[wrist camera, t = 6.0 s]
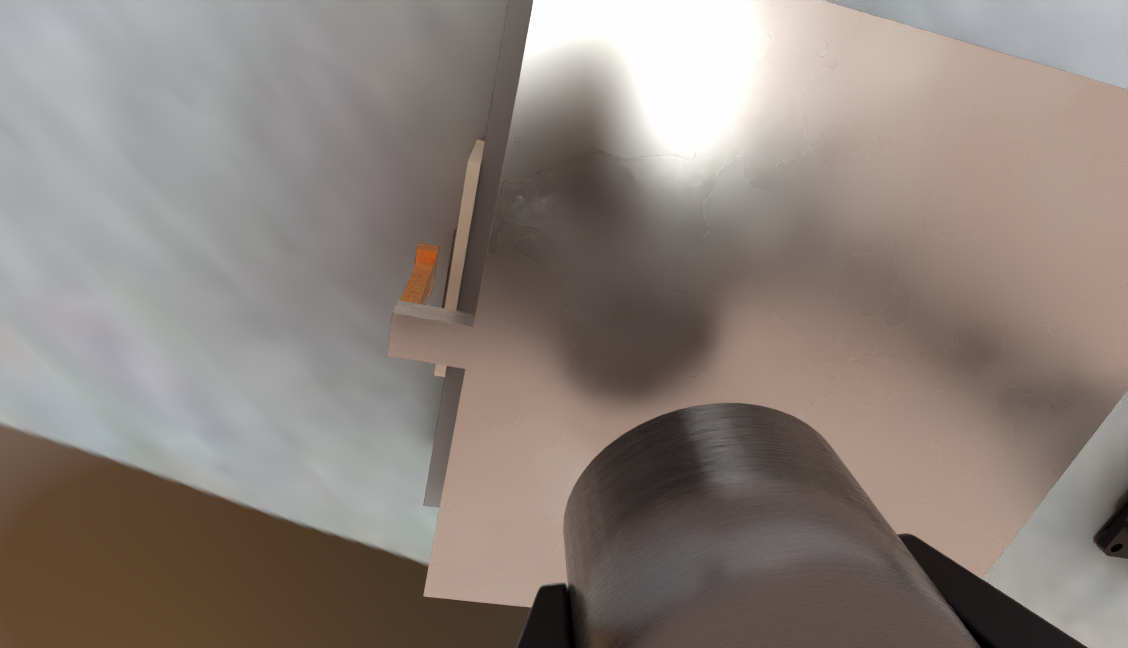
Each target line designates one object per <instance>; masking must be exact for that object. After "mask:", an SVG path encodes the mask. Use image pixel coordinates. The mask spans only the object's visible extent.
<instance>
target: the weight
mask: <svg viewBox="0 0 1128 648" xmlns="http://www.w3.org/2000/svg"><path fill="white" fill-rule="evenodd" d="M563 536H564V548H565V559H566V571H567V583H568V595H569V607H570V618H571V630H572V642H573V648H981V647H980V645H979V644H978V643H977V641H976V640H975V639H974V637H973V636H972V635H971V633H970V632H969V630H968V629H967V628H966V626H965V625H964V624H963V622H962V621H961V620H960V618H959V617H958V616H957V614H956V613H955V612H954V610H953V609H952V608H951V606H950V605H949V604H948V602H947V601H946V600H945V598H944V597H943V596H942V594H941V593H940V592H939V590H938V589H937V588H936V586H935V585H934V584H933V582H932V581H931V579H930V578H929V577H928V575H927V574H926V573H925V571H924V570H923V569H922V567H921V566H920V565H919V563H918V562H917V561H916V559H915V558H914V557H913V555H912V554H911V553H910V551H909V550H908V549H907V547H906V546H905V545H904V543H903V542H902V541H901V539H900V538H899V537H898V535H897V534H896V533H895V531H894V530H893V528H892V527H891V526H890V524H889V523H888V522H887V520H886V519H885V518H884V516H883V515H882V514H881V512H880V511H879V510H878V508H877V507H876V506H875V504H874V503H873V502H872V500H871V499H870V498H869V496H868V495H867V494H866V492H865V491H864V490H863V488H862V487H861V486H860V484H859V483H858V482H857V480H856V479H855V477H854V476H853V475H852V473H851V472H850V471H849V469H848V468H847V467H846V465H845V464H844V463H843V461H842V460H841V459H840V457H839V456H838V455H837V453H836V452H835V451H834V449H833V448H832V447H831V445H830V444H829V443H828V442H827V441H826V440H825V439H824V437H823V436H822V435H821V434H820V433H818V432H817V431H816V430H815V429H813V428H812V427H811V426H810V425H808V424H807V423H805V422H803V421H801V420H800V419H798V418H796V417H794V416H792V415H789V414H787V413H784V412H782V411H779V410H776V409H772V408H768V407H764V406H760V405H752V404H744V403H714V404H705V405H697V406H692V407H688V408H683V409H679V410H675V411H672V412H669V413H666V414H663V415H660V416H657V417H655V418H653V419H651V420H649V421H646V422H644V423H642V424H640V425H638V426H636V427H635V428H633V429H631V430H629V431H628V432H626V433H624V434H623V435H621V436H620V437H618V438H617V439H616V440H614V441H613V442H612V443H610V444H609V445H608V446H606V447H605V448H604V449H603V450H602V451H601V452H600V453H599V454H598V455H597V456H596V457H595V458H594V459H593V460H592V461H591V462H590V464H589V465H588V466H587V467H586V469H585V470H584V471H583V472H582V474H581V475H580V477H579V479H578V480H577V482H576V484H575V485H574V487H573V489H572V492H571V494H570V496H569V499H568V501H567V505H566V509H565V513H564V522H563Z"/></svg>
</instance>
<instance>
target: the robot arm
mask: <svg viewBox="0 0 1128 648" xmlns="http://www.w3.org/2000/svg"><path fill="white" fill-rule="evenodd" d="M897 535H898V537H899V538H900V539H901V541H902V542H903V543H904V545H905V546H906V547H907V549H908V550H909V551H910V553H911V554H912V555H913V557H914V558H915V559H916V561H917V562H918V563H919V565H920V566H921V567H922V569H923V570H924V571H925V573H926V574H927V575H928V577H929V578H930V579H931V581H932V582H933V584H934V585H935V586H936V588H937V589H938V590H939V592H940V593H941V594H942V596H943V597H944V598H945V600H946V601H947V602H948V604H949V605H950V606H951V608H952V609H953V610H954V612H955V613H956V614H957V616H958V617H959V618H960V620H961V621H962V622H963V624H964V625H965V626H966V628H967V629H968V630H969V632H970V633H971V635H972V636H973V637H974V639H975V640H976V641H977V643H978V644H979V645H980V647H981V648H1087V647H1086V646H1084V645H1083V644H1081V643H1080V642H1078V641H1077V640H1075V639H1074V638H1072V637H1070V636H1069V635H1067V634H1066V633H1064V632H1063V631H1061V630H1060V629H1058V628H1057V627H1055V626H1053V625H1052V624H1050V623H1049V622H1047V621H1046V620H1044V619H1043V618H1041V617H1040V616H1038V615H1037V614H1035V613H1033V612H1032V611H1030V610H1029V609H1027V608H1026V607H1024V606H1023V605H1021V604H1020V603H1018V602H1016V601H1015V600H1013V599H1012V598H1010V597H1009V596H1007V595H1006V594H1004V593H1003V592H1001V591H1000V590H998V589H996V588H995V587H993V586H992V585H990V584H989V583H987V582H986V581H984V580H983V579H981V578H979V577H978V576H976V575H975V574H973V573H972V572H970V571H969V570H967V569H966V568H964V567H963V566H961V565H959V564H958V563H956V562H955V561H953V560H952V559H950V558H949V557H947V556H946V555H944V554H942V553H941V552H939V551H938V550H936V549H935V548H933V547H932V546H930V545H929V544H927V543H926V542H924V541H922V540H921V539H919V538H918V537H916V536H914V535H912V534H908V533H903V534H897ZM1097 547H1098V548H1099V549H1100V550H1101V551H1103V552H1104V553H1105V554H1106V555H1108V556H1113V557H1120V558H1127V559H1128V506H1127V507H1126V508H1125V509H1124V511H1123V512H1122V513H1121V514H1120V515H1119V516H1118V518H1117V519H1116V520H1115V521H1114V522H1113V523H1112V525H1111V526H1110V527H1109V528H1108V529H1107V530H1106V532H1105V533H1104V534H1103V535H1102V536H1101V537H1100V539H1099V540H1098V542H1097ZM516 648H573V642H572V630H571V618H570V607H569V595H568V588H567V585H566V584H565V583H563V582H559V583H552V584H545V585H542V586H541V587H540V588H539V590H538V591H537V594H536V597H535V599H534V602H533V605H532V607H531V610H530V612H529V615H528V618H527V621H526V623H525V626H524V628H523V631H522V634H521V636H520V639H519V641H518V644H517V647H516Z"/></svg>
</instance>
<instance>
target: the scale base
mask: <svg viewBox="0 0 1128 648" xmlns="http://www.w3.org/2000/svg"><path fill="white" fill-rule="evenodd" d="M533 1H534V0H508V6H507V12H506V18H505V24H504V30H503V36H502V42H501V48H500V54H499V60H498V66H497V71H496V77H495V83H494V89H493V95H492V101H491V107H490V113H489V119H488V125H487V131H486V137H485V141H482V140H478V139H477V141H476V143H475V145H474V148H473V150H472V152H471V155H470V157H469V159H468V164H467V170H466V176H465V183H464V189H463V195H462V201H461V208H460V214H459V218H458V224H457V229H455V230H454V235H453V242H452V248H451V254H450V261H449V267H448V273H447V280H446V286H445V293H444V299H443V305H442V308H444V309H450V310H455V311H461V312H466V313H472V314H476V309H477V303H478V298H479V293H480V287H481V282H482V276H483V271H484V266H485V260H486V255H487V250H488V244H489V239H490V233H491V228H492V223H493V217H494V212H495V206H496V201H497V196H498V190H499V185H500V179H501V174H502V169H503V163H504V158H505V152H506V147H507V142H508V136H509V131H510V125H511V120H512V115H513V109H514V104H515V98H516V93H517V88H518V82H519V77H520V71H521V66H522V61H523V55H524V50H525V44H526V39H527V34H528V28H529V23H530V17H531V12H532V7H533ZM464 374H465V369H463V368H457V367H451V366H445V365H439V364H436V365H435V371H434V376H440V377H445V380H444V386H443V391H442V397H441V403H440V409H439V415H438V421H437V427H436V433H435V439H434V445H433V451H432V457H431V463H430V468H429V474H428V480H427V486H426V492H425V498H424V504H423V506H431V507H439V508H440V503H441V498H442V492H443V487H444V482H445V476H446V471H447V465H448V460H449V455H450V449H451V444H452V438H453V433H454V428H455V422H456V417H457V411H458V406H459V401H460V395H461V390H462V384H463V379H464Z"/></svg>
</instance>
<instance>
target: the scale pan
mask: <svg viewBox="0 0 1128 648" xmlns="http://www.w3.org/2000/svg"><path fill="white" fill-rule="evenodd" d="M438 251H439V247H438V246H433V245H428V244H423V243H419V245H418V247H417V251H416V259H415V267H414V270H413V273H412V275H411V277H410V279H409V281H408V283H407V286H406V288H405V290H404V292H403V294H402V296H401V299H400V300H398V302H397V304H396V306H395V308H394V311H393V313H392V321H391V330H390V338H389V347H388V355H387V356H390V357H396V358H402V359H409V360H415V361H421V362H427V363H433V364H439V365H445V366H451V367H457V368H463V369H465V374H464V379H463V384H462V390H461V395H460V401H459V406H458V411H457V417H456V422H455V428H454V433H453V438H452V444H451V449H450V455H449V460H448V465H447V471H446V476H445V482H444V487H443V492H442V498H441V503H440V509H439V514H438V519H437V525H436V530H435V536H434V541H433V546H432V552H431V557H430V563H429V568H428V573H427V579H426V585H425V591H424V596H426V597H435V598H445V599H456V600H465V601H475V602H484V603H494V604H505V605H514V606H524V607H532V605H533V602H534V599H535V597H536V594H537V591H538V590H539V588H540V587H541V586H542V585H545V584H552V583H559V582H563V583H565V584H566V585H567V588H568V583H567V571H566V559H565V548H564V536H563V522H564V513H565V509H566V505H567V501H568V499H569V496H570V494H571V492H572V489H573V487H574V485H575V484H576V482H577V480H578V479H579V477H580V475H581V474H582V472H583V471H584V470H585V469H586V467H587V466H588V465H589V464H590V462H591V461H592V460H593V459H594V458H595V457H596V456H597V455H598V454H599V453H600V452H601V451H602V450H603V449H604V448H605V447H606V446H608V445H609V444H610V443H612V442H613V441H614V440H616V439H617V438H618V437H620V436H621V435H623V434H624V433H626V432H628V431H629V430H631V429H633V428H635V427H636V426H638V425H640V424H642V423H644V422H646V421H649V420H651V419H653V418H655V417H657V416H660V415H663V414H666V413H669V412H672V411H675V410H679V409H683V408H688V407H692V406H697V405H705V404H714V403H744V404H752V405H760V406H764V407H768V408H772V409H776V410H779V411H782V412H784V413H787V414H789V415H792V416H794V417H796V418H798V419H800V420H801V421H803V422H805V423H807V424H808V425H810V426H811V427H812V428H813V429H815V430H816V431H817V432H818V433H820V434H821V435H822V436H823V437H824V439H825V440H826V441H827V442H828V443H829V444H830V445H831V447H832V448H833V449H834V451H835V452H836V453H837V455H838V456H839V457H840V459H841V460H842V461H843V463H844V464H845V465H846V467H847V468H848V469H849V471H850V472H851V473H852V475H853V476H854V477H855V479H856V480H857V482H858V483H859V484H860V486H861V487H862V488H863V490H864V491H865V492H866V494H867V495H868V496H869V498H870V499H871V500H872V502H873V503H874V504H875V506H876V507H877V508H878V510H879V511H880V512H881V514H882V515H883V516H884V518H885V519H886V520H887V522H888V523H889V524H890V526H891V527H892V528H893V530H894V531H895V533H896V534H903V533H908V534H912V535H914V536H916V537H918V538H919V539H921V540H922V541H924V542H926V543H927V544H929V545H930V546H932V547H933V548H935V549H936V550H938V551H939V552H941V553H942V554H944V555H946V556H947V557H949V558H950V559H952V560H953V561H955V562H956V563H958V564H959V565H961V566H963V567H964V568H966V569H967V570H969V571H970V572H972V573H973V574H975V575H976V576H978V577H979V578H981V579H982V578H983V577H984V575H985V574H986V573H987V571H988V570H989V569H990V567H991V566H992V565H993V564H994V562H995V561H996V560H997V558H998V557H999V556H1000V555H1001V553H1002V552H1003V551H1004V549H1005V548H1006V547H1007V545H1008V544H1009V543H1010V542H1011V540H1012V539H1013V538H1014V536H1015V535H1016V534H1017V532H1018V531H1019V530H1020V529H1021V527H1022V526H1023V525H1024V523H1025V522H1026V521H1027V520H1028V518H1029V517H1030V516H1031V514H1032V513H1033V512H1034V510H1035V509H1036V508H1037V507H1038V505H1039V504H1040V503H1041V501H1042V500H1043V499H1044V497H1045V496H1046V495H1047V494H1048V492H1049V491H1050V490H1051V488H1052V487H1053V486H1054V485H1055V483H1056V482H1057V481H1058V479H1059V478H1060V477H1061V475H1062V474H1063V473H1064V472H1065V470H1066V469H1067V468H1068V466H1069V465H1070V464H1071V462H1072V461H1073V460H1074V459H1075V457H1076V456H1077V455H1078V453H1079V452H1080V451H1081V450H1082V448H1083V447H1084V446H1085V444H1086V443H1087V442H1088V440H1089V439H1090V438H1091V437H1092V435H1093V434H1094V433H1095V431H1096V430H1097V429H1098V427H1099V426H1100V425H1101V424H1102V422H1103V421H1104V420H1105V418H1106V417H1107V416H1108V415H1109V413H1110V412H1111V411H1112V409H1113V408H1114V407H1115V405H1116V404H1117V403H1118V402H1119V400H1120V399H1121V398H1122V396H1123V395H1124V394H1125V392H1126V391H1127V390H1128V90H1127V89H1124V88H1120V87H1117V86H1113V85H1110V84H1107V83H1103V82H1100V81H1096V80H1093V79H1090V78H1086V77H1083V76H1079V75H1076V74H1072V73H1069V72H1066V71H1062V70H1059V69H1055V68H1052V67H1049V66H1045V65H1042V64H1038V63H1035V62H1031V61H1028V60H1025V59H1021V58H1018V57H1014V56H1011V55H1008V54H1004V53H1001V52H997V51H994V50H990V49H987V48H984V47H980V46H977V45H973V44H970V43H966V42H963V41H960V40H956V39H953V38H949V37H946V36H943V35H939V34H936V33H932V32H929V31H925V30H922V29H919V28H915V27H912V26H908V25H905V24H902V23H898V22H895V21H891V20H888V19H884V18H881V17H878V16H874V15H871V14H867V13H864V12H861V11H857V10H854V9H850V8H847V7H843V6H840V5H837V4H833V3H830V2H826V1H823V0H534V1H533V7H532V12H531V17H530V23H529V28H528V34H527V39H526V44H525V50H524V55H523V61H522V66H521V71H520V77H519V82H518V88H517V93H516V98H515V104H514V109H513V115H512V120H511V125H510V131H509V136H508V142H507V147H506V152H505V158H504V163H503V169H502V174H501V179H500V185H499V190H498V196H497V201H496V206H495V212H494V217H493V223H492V228H491V233H490V239H489V244H488V250H487V255H486V260H485V266H484V271H483V276H482V282H481V287H480V293H479V298H478V303H477V309H476V314H472V313H466V312H461V311H455V310H450V309H444V308H439V307H433V306H428V305H426V303H427V300H428V297H429V295H431V293H432V290H433V285H434V278H435V271H436V265H437V258H438Z"/></svg>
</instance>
